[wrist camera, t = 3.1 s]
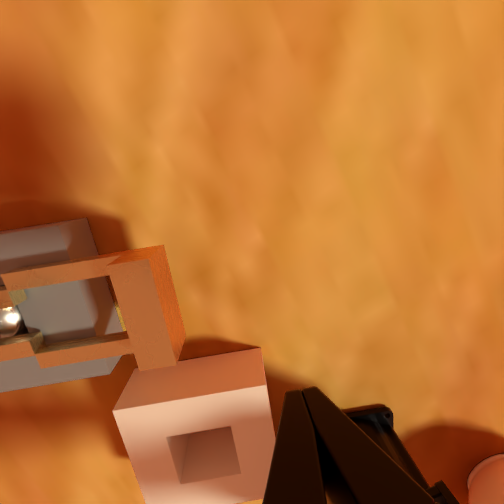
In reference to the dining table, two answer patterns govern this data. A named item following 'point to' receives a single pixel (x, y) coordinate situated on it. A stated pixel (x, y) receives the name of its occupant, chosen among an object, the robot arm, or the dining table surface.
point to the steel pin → (11, 321)
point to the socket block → (57, 302)
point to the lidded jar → (487, 481)
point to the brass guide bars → (130, 303)
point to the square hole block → (199, 429)
